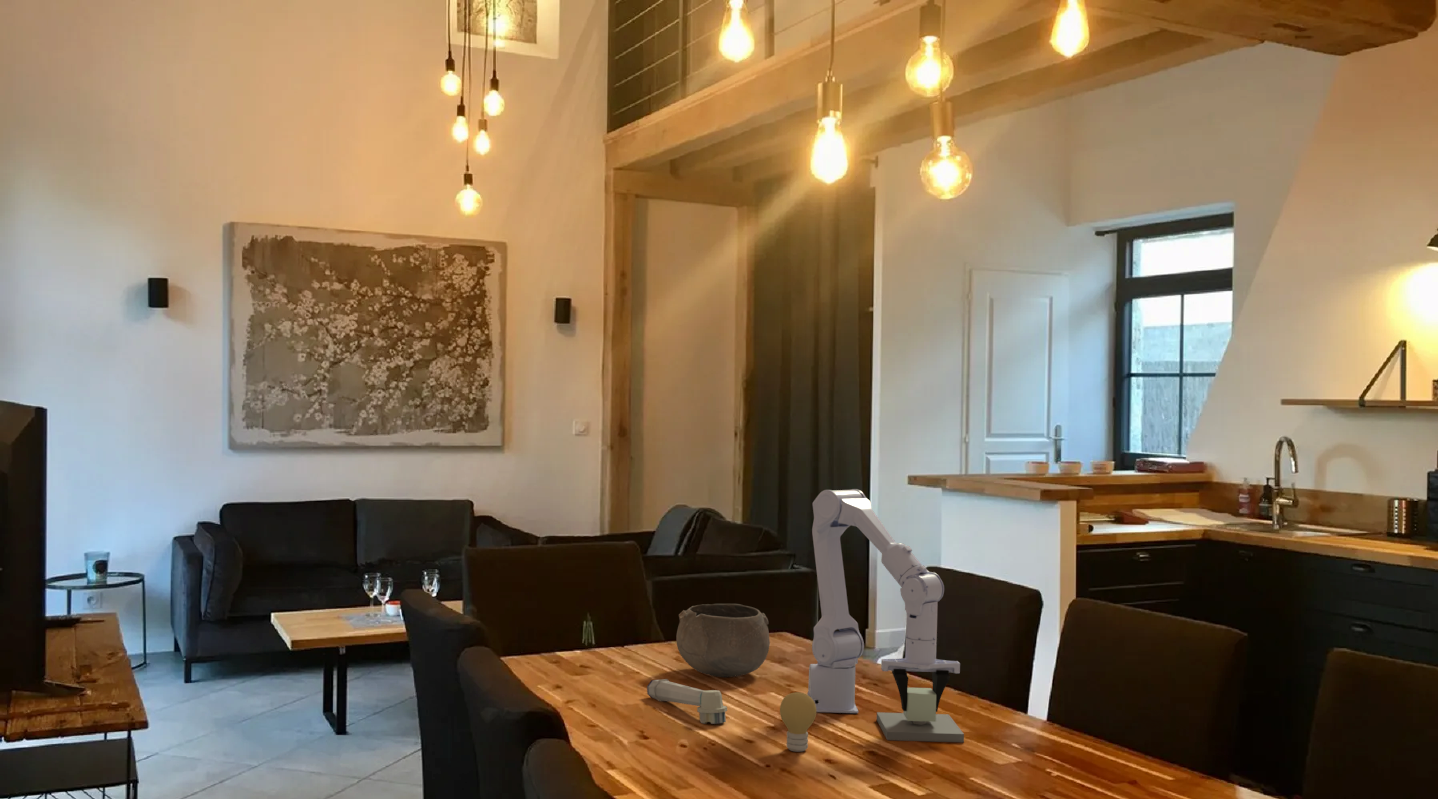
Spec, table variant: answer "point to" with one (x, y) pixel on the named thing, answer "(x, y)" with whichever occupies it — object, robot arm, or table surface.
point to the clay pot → (723, 639)
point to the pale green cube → (920, 705)
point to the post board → (919, 728)
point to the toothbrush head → (690, 699)
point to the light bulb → (797, 719)
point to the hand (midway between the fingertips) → (919, 710)
